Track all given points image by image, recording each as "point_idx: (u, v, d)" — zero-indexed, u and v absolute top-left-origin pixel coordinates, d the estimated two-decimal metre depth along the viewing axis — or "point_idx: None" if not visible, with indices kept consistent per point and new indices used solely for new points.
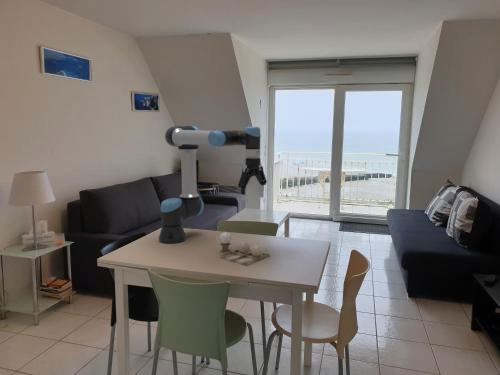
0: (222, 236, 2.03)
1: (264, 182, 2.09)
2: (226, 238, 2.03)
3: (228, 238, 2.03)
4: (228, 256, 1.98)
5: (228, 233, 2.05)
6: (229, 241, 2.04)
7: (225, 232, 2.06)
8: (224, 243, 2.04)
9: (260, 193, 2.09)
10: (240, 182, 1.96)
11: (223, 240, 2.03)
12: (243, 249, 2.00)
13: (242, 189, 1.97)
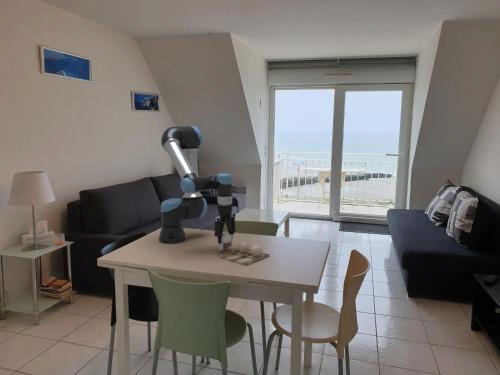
0: (222, 236, 2.03)
1: (233, 231, 2.09)
2: (226, 238, 2.03)
3: (228, 238, 2.03)
4: (228, 256, 1.98)
5: (228, 233, 2.05)
6: (229, 241, 2.04)
7: (225, 232, 2.06)
8: (224, 243, 2.04)
9: (229, 242, 2.09)
10: (215, 232, 2.00)
11: (223, 240, 2.03)
12: (243, 249, 2.00)
13: (218, 238, 2.02)
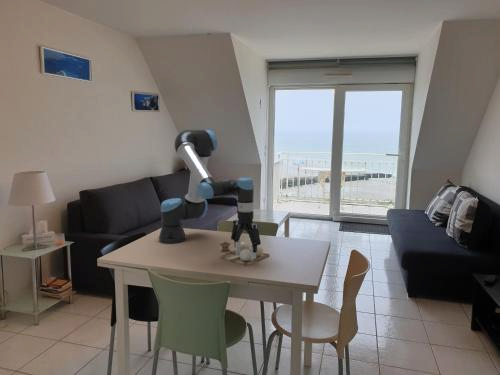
0: None
1: (255, 243, 1.85)
2: (239, 254, 1.90)
3: (240, 255, 1.89)
4: (228, 256, 1.98)
5: (245, 251, 1.89)
6: (242, 259, 1.89)
7: (245, 249, 1.90)
8: None
9: None
10: None
11: None
12: None
13: None
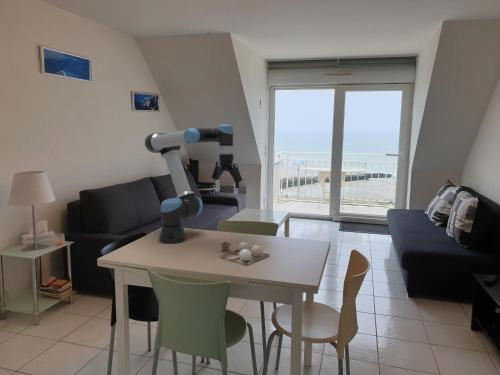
0: None
1: (237, 180, 2.09)
2: (239, 254, 1.90)
3: (240, 255, 1.89)
4: (228, 256, 1.98)
5: (245, 251, 1.89)
6: (242, 259, 1.89)
7: (245, 249, 1.90)
8: None
9: None
10: None
11: None
12: None
13: None
